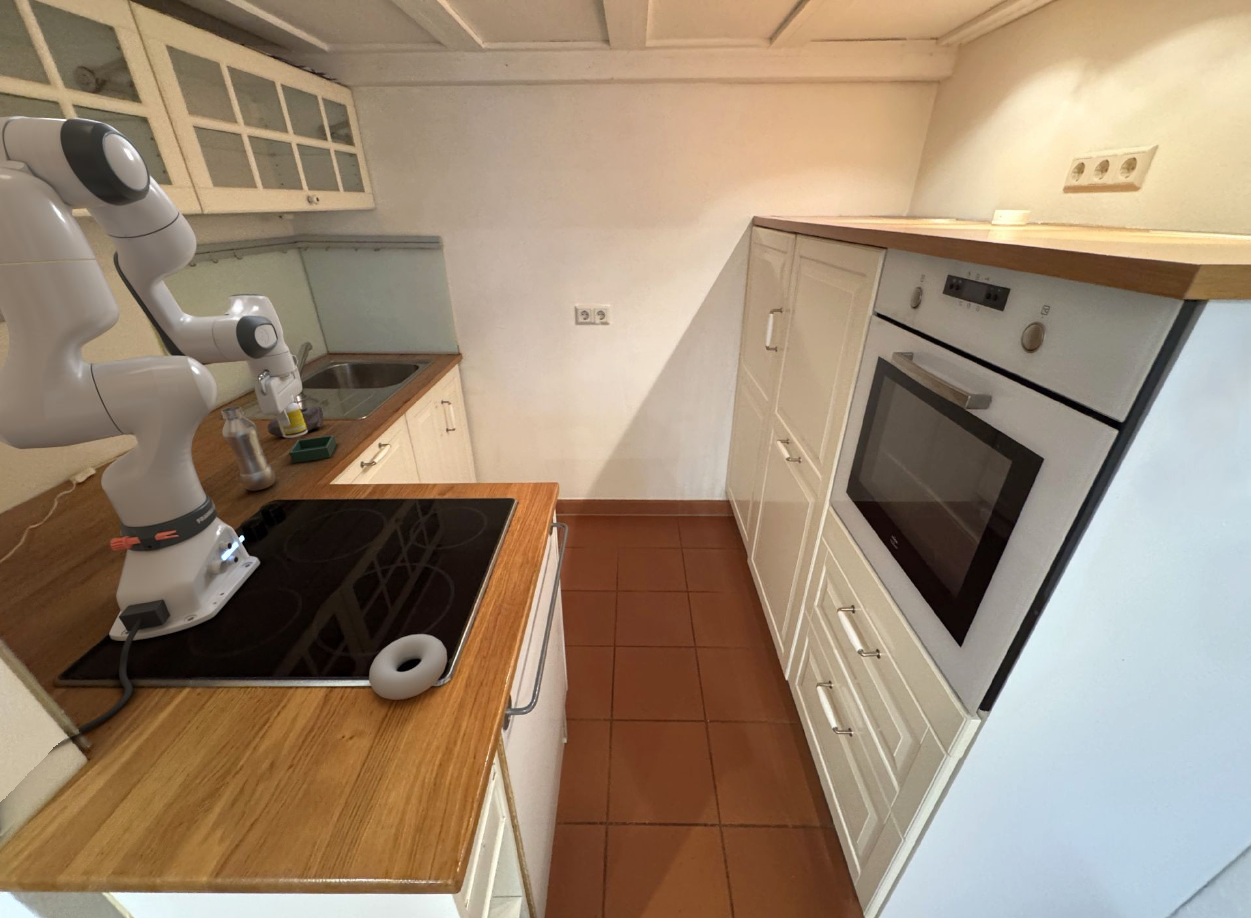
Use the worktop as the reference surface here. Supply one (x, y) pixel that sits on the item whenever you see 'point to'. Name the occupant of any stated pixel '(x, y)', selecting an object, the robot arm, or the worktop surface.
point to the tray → (313, 449)
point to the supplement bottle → (293, 421)
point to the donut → (414, 680)
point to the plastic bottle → (247, 449)
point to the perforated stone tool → (311, 418)
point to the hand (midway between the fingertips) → (291, 420)
